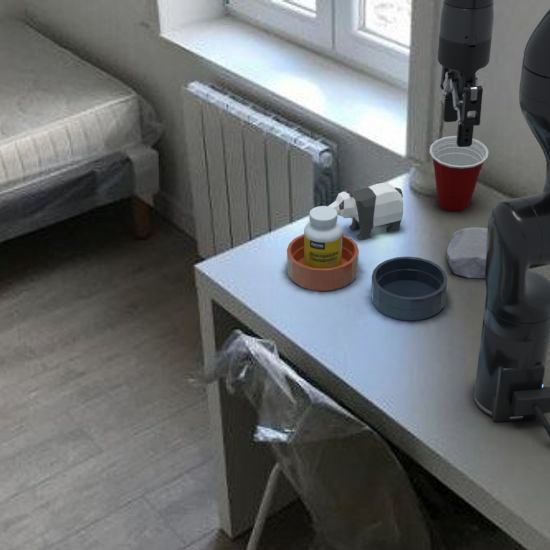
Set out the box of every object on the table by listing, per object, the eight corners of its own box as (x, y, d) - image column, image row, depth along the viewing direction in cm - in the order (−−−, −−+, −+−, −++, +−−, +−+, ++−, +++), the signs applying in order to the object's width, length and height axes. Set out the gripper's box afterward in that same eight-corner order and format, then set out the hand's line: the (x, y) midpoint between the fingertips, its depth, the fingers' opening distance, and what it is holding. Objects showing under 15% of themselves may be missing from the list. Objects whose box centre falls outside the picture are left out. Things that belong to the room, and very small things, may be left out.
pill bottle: (299, 277, 167) (298, 219, 160) (310, 257, 172) (310, 200, 165) (335, 283, 165) (336, 225, 158) (346, 263, 170) (346, 206, 163)
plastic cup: (428, 219, 182) (432, 163, 175) (423, 190, 191) (426, 136, 184) (486, 219, 181) (493, 162, 174) (478, 190, 190) (484, 135, 183)
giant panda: (393, 216, 183) (395, 171, 178) (406, 230, 179) (409, 185, 173) (322, 232, 179) (322, 187, 174) (334, 247, 175) (334, 202, 169)
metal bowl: (453, 318, 157) (455, 295, 154) (378, 324, 156) (379, 301, 153) (435, 275, 167) (437, 254, 164) (365, 281, 166) (366, 259, 163)
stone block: (447, 284, 167) (507, 280, 164) (444, 261, 165) (504, 256, 162) (451, 249, 177) (507, 245, 174) (448, 226, 175) (505, 221, 172)
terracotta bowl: (363, 288, 164) (363, 267, 161) (291, 294, 163) (291, 272, 161) (351, 249, 174) (352, 228, 171) (284, 254, 173) (283, 233, 171)
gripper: (429, 16, 145) (422, 115, 155) (452, 51, 134) (443, 156, 143) (478, 13, 146) (468, 111, 155) (505, 48, 134) (493, 152, 143)
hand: (456, 133), depth 149 cm, fingers open, 8 cm apart
